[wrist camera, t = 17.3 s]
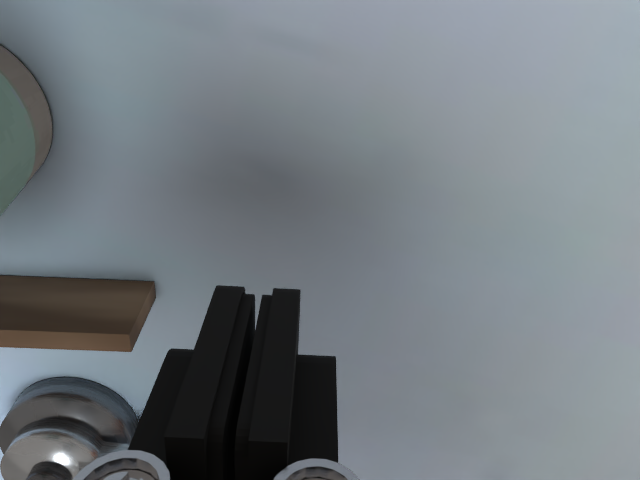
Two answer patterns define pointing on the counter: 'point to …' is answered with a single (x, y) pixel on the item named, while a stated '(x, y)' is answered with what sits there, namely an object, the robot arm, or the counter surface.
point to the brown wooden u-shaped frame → (73, 312)
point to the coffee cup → (20, 127)
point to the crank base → (71, 409)
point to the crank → (53, 451)
